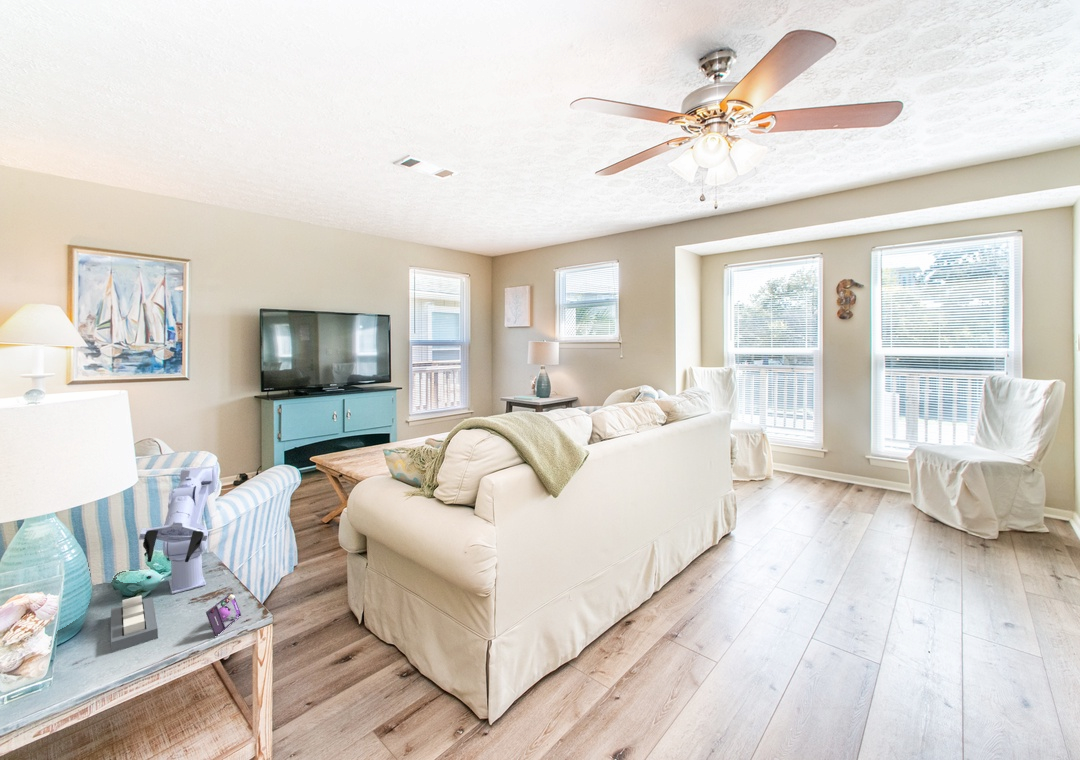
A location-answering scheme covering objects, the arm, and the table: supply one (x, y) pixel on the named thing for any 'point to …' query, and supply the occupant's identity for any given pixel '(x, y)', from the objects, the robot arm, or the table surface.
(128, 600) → the button
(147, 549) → the robot arm
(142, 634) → the button board
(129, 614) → the middle button
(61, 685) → the table surface
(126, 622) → the button
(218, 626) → the purple toy
